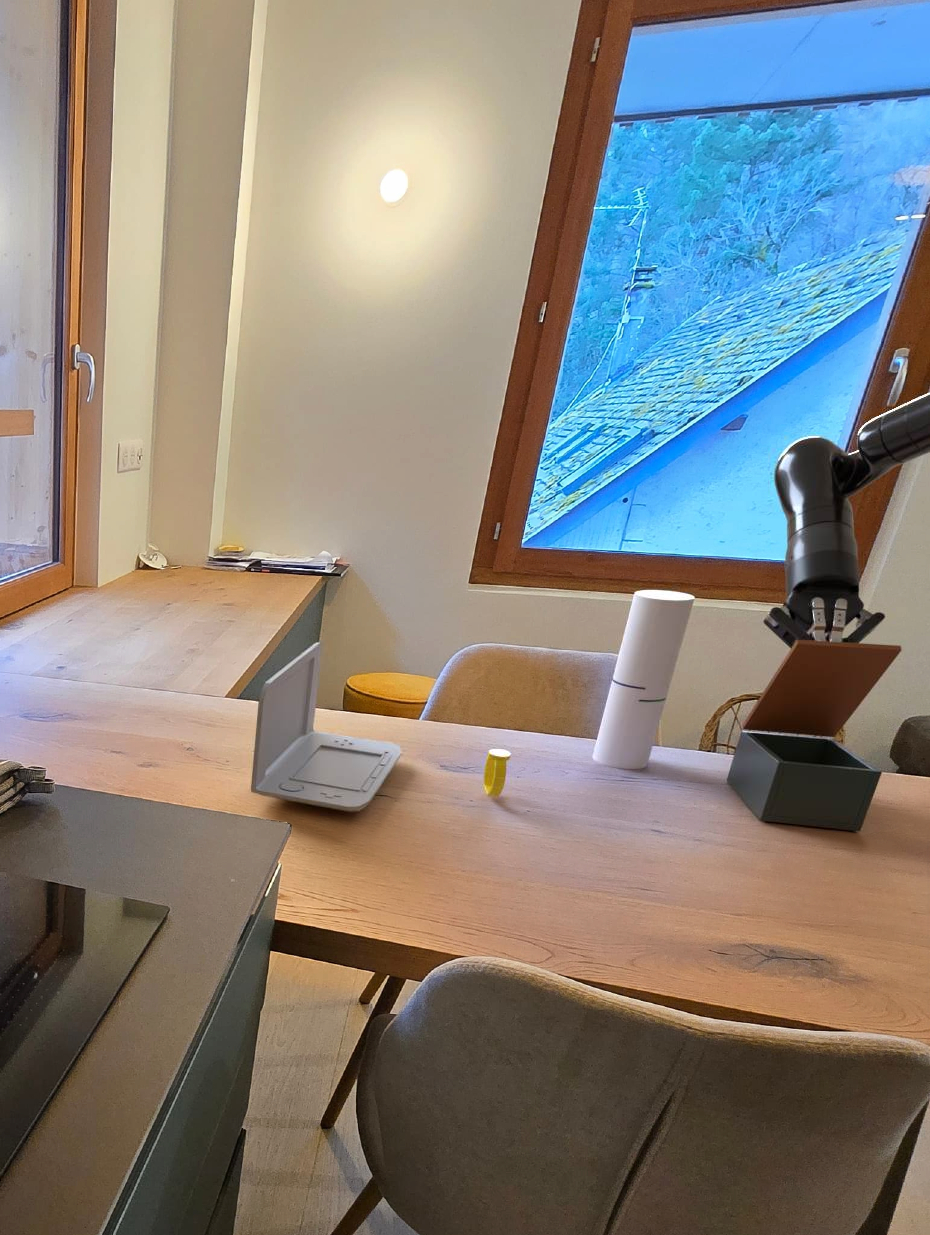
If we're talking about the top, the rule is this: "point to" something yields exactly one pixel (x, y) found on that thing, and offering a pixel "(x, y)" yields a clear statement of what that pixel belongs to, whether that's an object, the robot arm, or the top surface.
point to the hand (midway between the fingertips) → (824, 675)
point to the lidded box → (802, 780)
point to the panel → (819, 687)
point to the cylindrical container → (642, 677)
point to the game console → (312, 746)
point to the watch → (495, 771)
